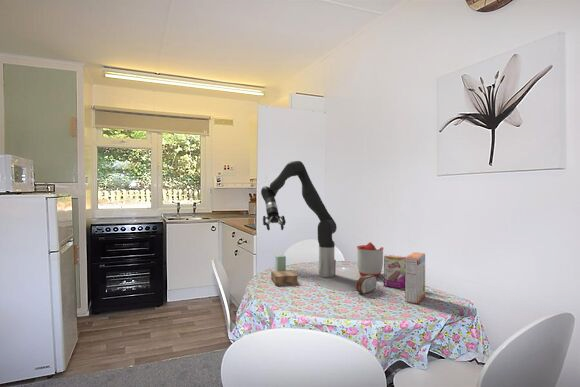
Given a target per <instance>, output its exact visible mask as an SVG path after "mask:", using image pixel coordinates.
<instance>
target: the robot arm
mask: <svg viewBox="0 0 580 387" xmlns="http://www.w3.org/2000/svg"><path fill="white" fill-rule="evenodd" d="M291 177H298V178H299V181H300V183H301V195H302V198H303V200H304V202H305V203H306V205H307V206H308V208H309V209H310V210H311V211H312V212H313V213H314V214H315V215H316V216H317V218H318V219H319V222H318V224H317V242H318V276H319V277H323V278H331V277H332V278H333V277H336V276H337V274H336V270H337V269H336V265H337V264H336V262H337V261H336V259H335V245H336V244H335V241H333V234H334V233H336V232H337V223H336V222H335V219H333V217H332V216H331V214H330V213H329V211H328V210H327V207H326V205H325V204H324V202H323V200H322V198H321V196H320V194H319V192H318V191H317V189H316V187H315V185H314V184H313V182H312V180H311V178H310V175H309V173H308V171H307V168H306V167H305V164H304V163H303V162H302V161H301V160H294V161H290V162H288V163H286V165H285V166H284V168H283V169H282V170H281V172H280V173H279V174H278V176H277V177H276V178H275V179H273V181H272V182H270V184H269V186H266V185H264V186H263V187H262V188H261V191H260V194H261V197H262V199H263V201H264V203H265V210H266V215H263V216H262V223H263V224H262V225H263V226H266V229H267V231H270V230H271V229H270V224H278V225H280V230H281V231H283V230H284V228H285V225H286V223H287V222H286V218H285V215H281V216H280V215H279V214H280V213H279V209H278V205H277V200H276V196H277V194H278V192H279V190H280V189H282V188H283V187H284V186H285V183H286V181H287V180H289V178H291ZM266 221H267V222H266Z"/></svg>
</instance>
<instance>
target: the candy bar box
mask: <svg viewBox="0 0 580 387" xmlns="http://www.w3.org/2000/svg"><path fill="white" fill-rule="evenodd" d="M407 256H408V255H407ZM407 256H405V255H397V254H396V255H395V254H385V255H383V287H389V288H398V289H403V290H404V289H405V257H407Z"/></svg>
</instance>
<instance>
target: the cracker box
mask: <svg viewBox="0 0 580 387" xmlns="http://www.w3.org/2000/svg"><path fill="white" fill-rule="evenodd" d="M404 292H405V296H404V297H405V299H404V300H405V302H407V303H411V304H419V303H420V302H421V301H422V300H423V299H424V298H425V296H426V253H423V252H412V253H410V254H408V255H407V257H405V291H404Z"/></svg>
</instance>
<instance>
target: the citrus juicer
mask: <svg viewBox="0 0 580 387" xmlns="http://www.w3.org/2000/svg"><path fill="white" fill-rule="evenodd" d="M356 248H357V249H356V250H357V251H356V265H357V269H358V272H359V276H360V277H362V276H365V275H368V274H372V275H374V276H376V278H379V277H380V276H381V274H382V271H383V268H384V247H382V246H381V247H379V249H377V248H376V245H374V244H373V243H372V242H371V241H369V242H368V243H367V244H365V245H364V244H362V245H358V246H356Z"/></svg>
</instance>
